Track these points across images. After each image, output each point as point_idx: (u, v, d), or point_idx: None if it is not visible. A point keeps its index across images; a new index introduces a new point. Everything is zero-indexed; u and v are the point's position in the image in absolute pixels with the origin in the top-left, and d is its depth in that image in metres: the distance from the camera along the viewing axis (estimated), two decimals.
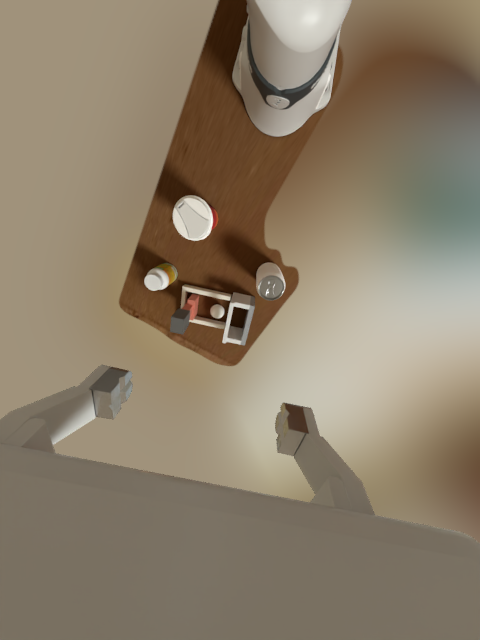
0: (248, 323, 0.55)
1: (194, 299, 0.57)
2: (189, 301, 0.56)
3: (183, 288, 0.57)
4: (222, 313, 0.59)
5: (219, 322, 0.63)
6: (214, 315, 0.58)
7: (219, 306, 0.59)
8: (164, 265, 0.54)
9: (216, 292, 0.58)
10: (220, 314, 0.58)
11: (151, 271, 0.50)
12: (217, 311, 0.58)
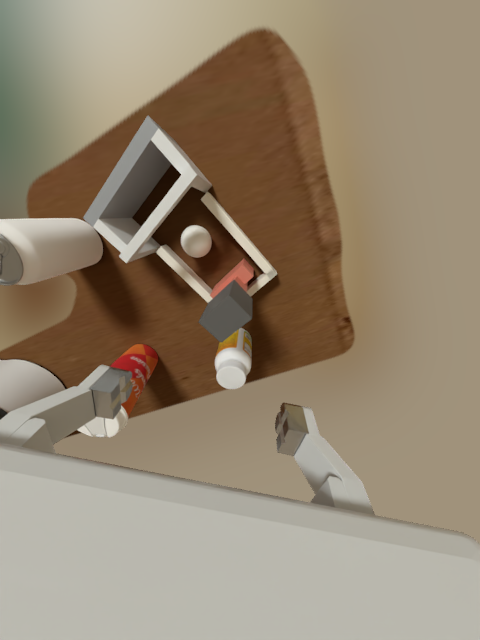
0: (111, 185, 0.21)
1: None
2: None
3: None
4: (183, 234, 0.27)
5: None
6: (198, 243, 0.26)
7: (184, 249, 0.28)
8: None
9: None
10: (186, 236, 0.26)
11: None
12: (187, 246, 0.27)
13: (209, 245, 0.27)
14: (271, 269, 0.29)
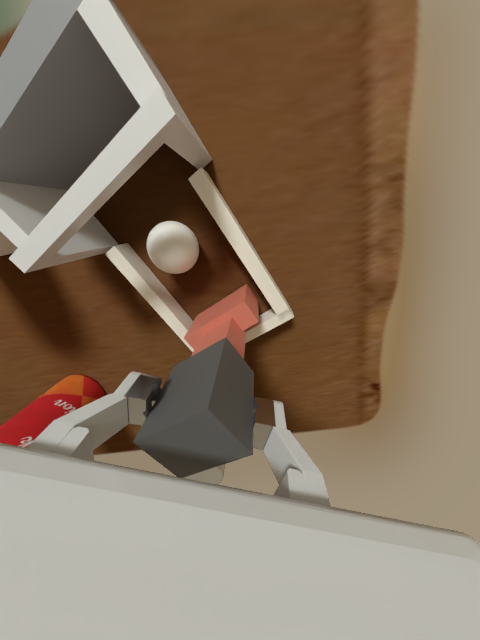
0: None
1: None
2: None
3: None
4: (151, 233, 0.15)
5: None
6: (173, 253, 0.15)
7: None
8: None
9: None
10: (154, 238, 0.15)
11: None
12: (155, 255, 0.16)
13: (194, 258, 0.17)
14: (286, 309, 0.19)
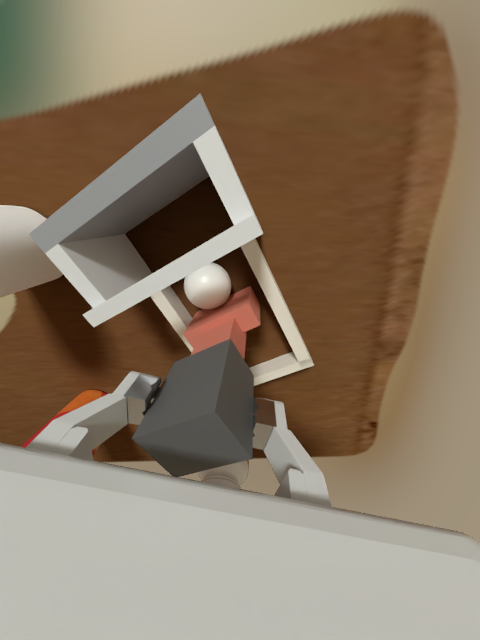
0: (95, 197, 0.11)
1: None
2: None
3: None
4: None
5: None
6: (204, 282, 0.16)
7: None
8: None
9: None
10: None
11: None
12: (188, 283, 0.17)
13: (221, 295, 0.17)
14: (308, 358, 0.21)
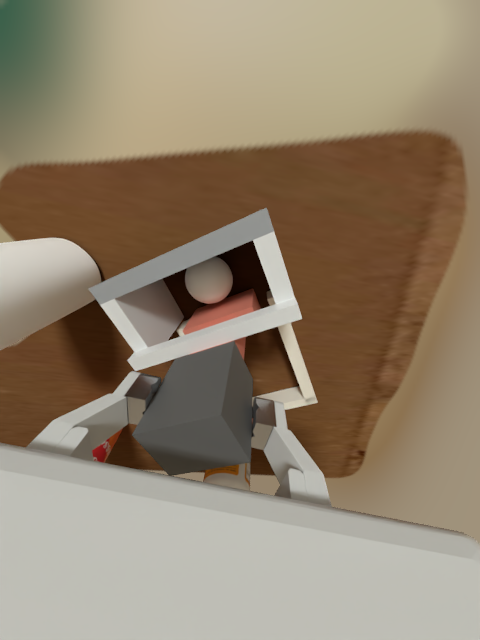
0: (157, 268, 0.13)
1: None
2: None
3: None
4: None
5: None
6: None
7: None
8: None
9: None
10: None
11: None
12: None
13: None
14: (313, 396, 0.23)
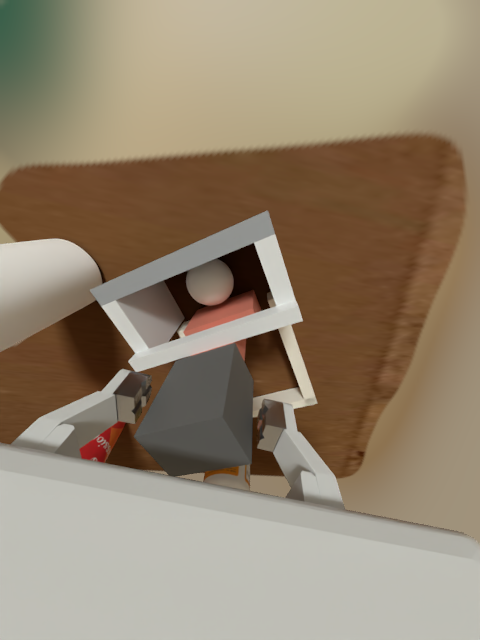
0: (159, 270, 0.13)
1: None
2: None
3: None
4: None
5: None
6: None
7: None
8: None
9: None
10: None
11: None
12: None
13: None
14: (313, 397, 0.23)
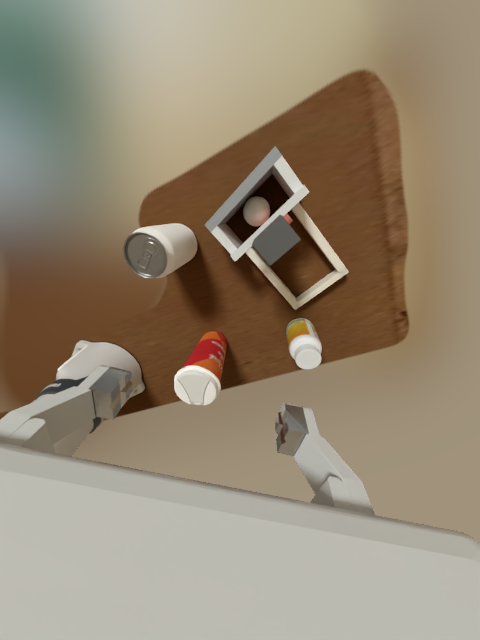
0: (234, 199, 0.27)
1: None
2: None
3: (296, 306, 0.37)
4: None
5: (298, 219, 0.32)
6: None
7: None
8: None
9: None
10: None
11: None
12: None
13: None
14: (344, 268, 0.34)
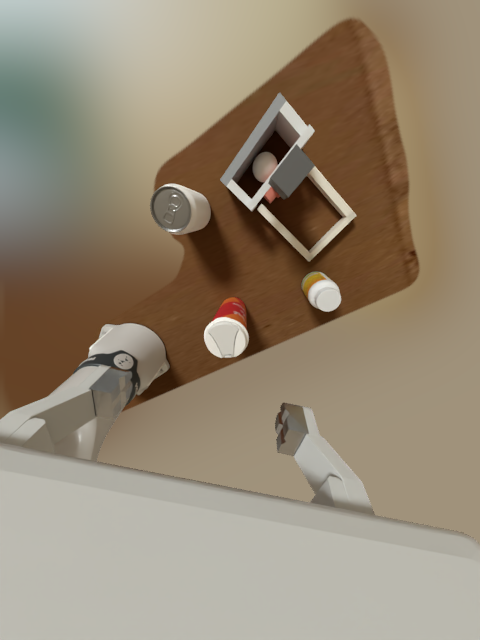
0: (245, 150, 0.29)
1: (264, 195, 0.34)
2: (271, 197, 0.33)
3: (310, 258, 0.39)
4: None
5: None
6: None
7: (258, 180, 0.35)
8: None
9: None
10: None
11: None
12: None
13: None
14: (351, 211, 0.36)
